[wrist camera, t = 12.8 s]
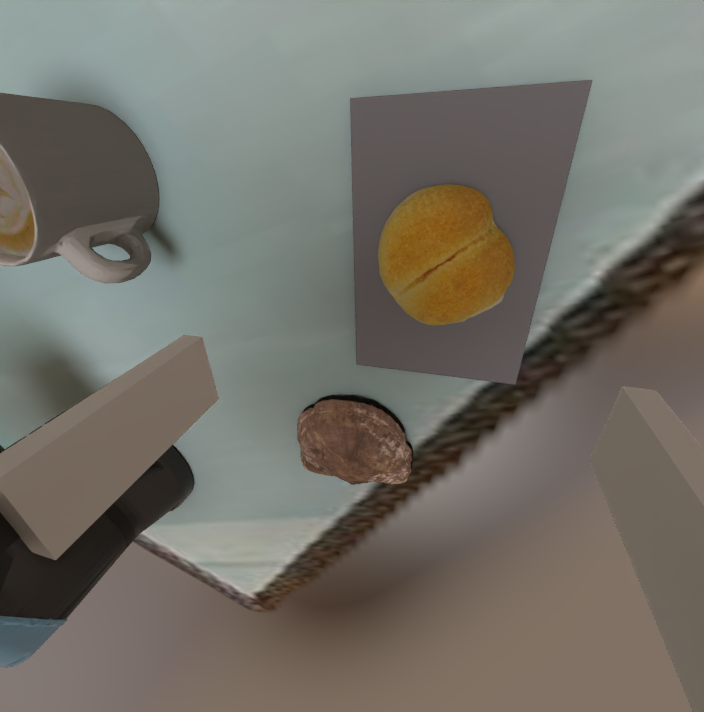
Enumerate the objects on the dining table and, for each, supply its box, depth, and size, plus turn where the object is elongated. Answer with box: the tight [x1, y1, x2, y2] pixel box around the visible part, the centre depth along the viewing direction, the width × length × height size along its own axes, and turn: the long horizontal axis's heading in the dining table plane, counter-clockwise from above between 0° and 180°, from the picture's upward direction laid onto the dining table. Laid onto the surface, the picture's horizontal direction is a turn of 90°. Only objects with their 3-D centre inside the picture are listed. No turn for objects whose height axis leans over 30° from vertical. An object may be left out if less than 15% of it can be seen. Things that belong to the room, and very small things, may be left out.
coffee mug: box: [0, 93, 159, 283], centre depth 26 cm, size 13×10×10 cm
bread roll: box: [378, 184, 515, 326], centre depth 22 cm, size 8×9×4 cm
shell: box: [297, 395, 413, 485], centre depth 35 cm, size 12×13×4 cm
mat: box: [350, 80, 592, 384], centre depth 25 cm, size 19×13×1 cm
